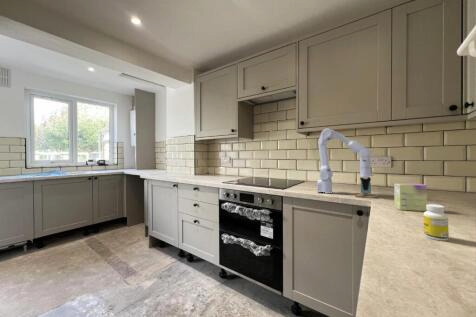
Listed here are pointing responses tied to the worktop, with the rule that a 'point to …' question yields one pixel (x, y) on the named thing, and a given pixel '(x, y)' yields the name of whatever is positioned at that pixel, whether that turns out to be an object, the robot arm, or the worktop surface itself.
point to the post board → (365, 195)
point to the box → (410, 196)
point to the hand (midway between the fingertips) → (365, 189)
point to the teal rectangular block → (366, 190)
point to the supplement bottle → (436, 222)
